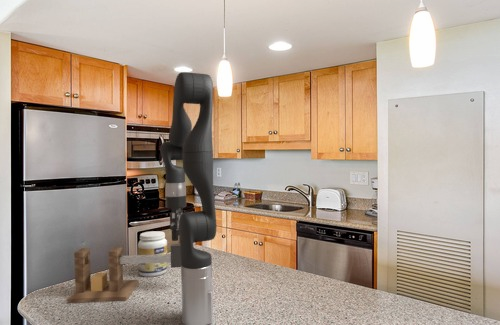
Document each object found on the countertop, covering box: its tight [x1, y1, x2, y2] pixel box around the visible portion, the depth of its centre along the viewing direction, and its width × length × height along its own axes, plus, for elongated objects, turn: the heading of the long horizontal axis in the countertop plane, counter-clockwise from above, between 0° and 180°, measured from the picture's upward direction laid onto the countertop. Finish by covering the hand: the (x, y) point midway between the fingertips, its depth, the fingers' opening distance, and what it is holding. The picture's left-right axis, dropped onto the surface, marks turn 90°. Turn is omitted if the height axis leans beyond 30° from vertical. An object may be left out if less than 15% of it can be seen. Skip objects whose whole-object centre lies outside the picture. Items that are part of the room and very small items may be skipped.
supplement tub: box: [137, 230, 169, 278], centre depth 144 cm, size 12×12×17 cm
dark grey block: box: [119, 243, 181, 268], centre depth 124 cm, size 24×3×8 cm, turn 94°
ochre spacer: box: [90, 272, 109, 291], centre depth 124 cm, size 5×5×4 cm
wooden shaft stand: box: [66, 246, 140, 304], centre depth 123 cm, size 20×16×16 cm
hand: (176, 237), depth 125 cm, fingers open, 8 cm apart
